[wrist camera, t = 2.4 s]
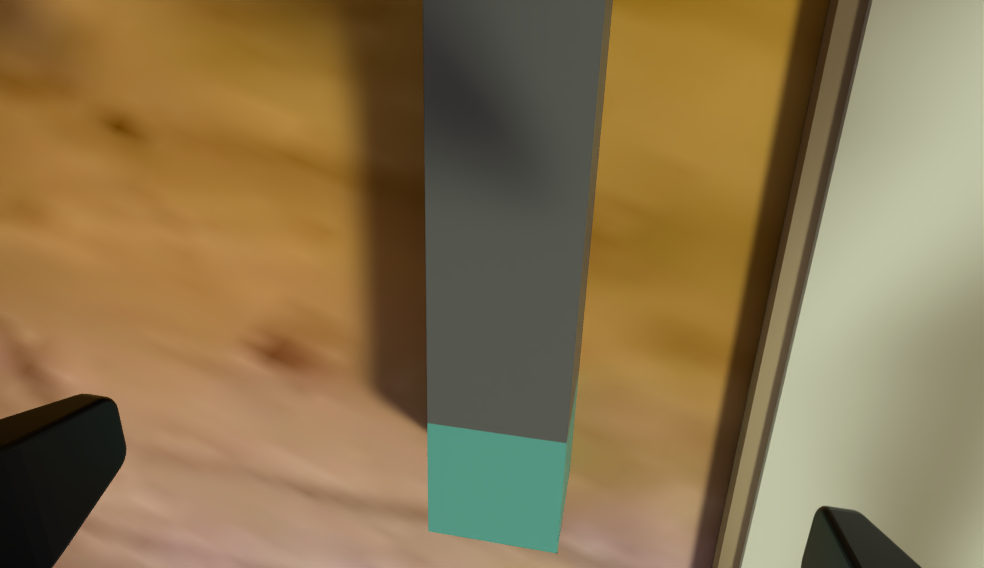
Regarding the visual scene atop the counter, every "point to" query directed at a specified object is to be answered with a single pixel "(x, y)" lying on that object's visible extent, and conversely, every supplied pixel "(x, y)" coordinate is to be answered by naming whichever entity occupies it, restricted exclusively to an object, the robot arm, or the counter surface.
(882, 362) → the cream flat piece
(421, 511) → the counter surface
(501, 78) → the dark gray rectangular block
